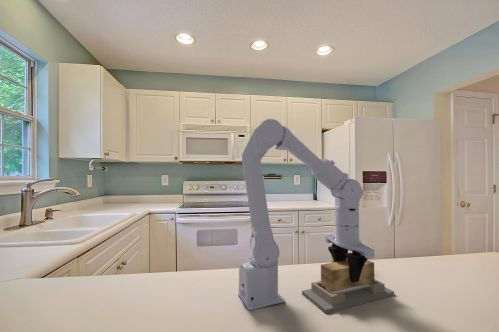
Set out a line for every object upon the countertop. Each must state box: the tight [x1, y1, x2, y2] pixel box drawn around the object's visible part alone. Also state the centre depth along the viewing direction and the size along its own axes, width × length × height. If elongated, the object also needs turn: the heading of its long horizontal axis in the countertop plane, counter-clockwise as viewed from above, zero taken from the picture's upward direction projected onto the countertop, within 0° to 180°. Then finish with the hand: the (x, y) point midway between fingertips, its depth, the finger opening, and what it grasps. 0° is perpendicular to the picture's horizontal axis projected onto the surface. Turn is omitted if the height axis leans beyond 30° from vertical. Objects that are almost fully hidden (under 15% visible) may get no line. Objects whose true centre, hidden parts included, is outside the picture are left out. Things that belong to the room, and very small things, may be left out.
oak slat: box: [320, 259, 376, 292], centre depth 59 cm, size 14×4×5 cm, turn 112°
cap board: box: [301, 279, 395, 314], centre depth 59 cm, size 22×9×3 cm, turn 112°
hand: (347, 277), depth 59 cm, fingers closed on oak slat, 4 cm apart
